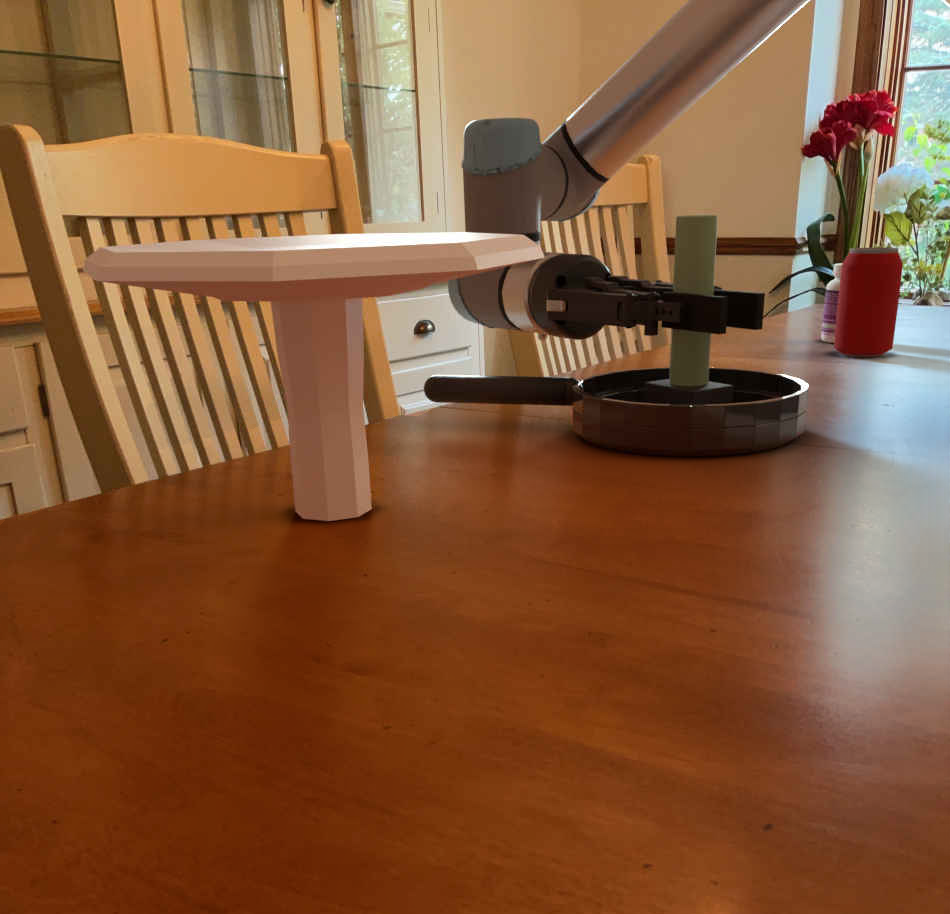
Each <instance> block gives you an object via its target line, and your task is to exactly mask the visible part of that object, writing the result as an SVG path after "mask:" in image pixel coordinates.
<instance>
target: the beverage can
mask: <svg viewBox="0 0 950 914" xmlns="http://www.w3.org/2000/svg"><path fill="white" fill-rule="evenodd" d="M841 263H842V269H841V278H840V287H839V297H838V307H837V317H836V328H835V339H834V343H833V348H834V350H836V351H837V352H838V353H840V355H841V356H845V357H852V358H877V357H882V356H884V355H885V354H886V353H888V352H890V351H891V350H892V349H893V346H894V340H895V334H896V333H895V331H896V323H897V318H898V309H899V302H900V301H899V300H900V293H901V292H900V291H901V285H902V275H903V266H904V263H903V260H902V257H901V255H900V253H899V248H898V247H882V246H881V247H876V246H875V247H853V248H849V252H848V254H847V255H846V257H845V258H844V260H843V262H841Z"/></svg>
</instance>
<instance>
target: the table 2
mask: <svg viewBox="0 0 950 914" xmlns="http://www.w3.org/2000/svg"><path fill="white" fill-rule="evenodd" d="M543 252H544V251H543V249H542V247H541V245H540V246H539V245H538V244H536V243H535V242H533V241H532V240H531V239H529V238H528V237H526V236H525V235H517V234H495V233H472V232H465V231H455V232H454V231H449V232H447V231H446V232H445V231H444V232H440V231H439V232H438V231H437V232H390V233H389V232H386V233H385V232H383V233H336V234H335V233H333V234H332V233H331V234H329V233H328V234H309V235H308V234H307V235H305V234H304V235H283V236H259V237H235V238H234V237H232V238H211V239H210V238H209V239H207V238H205V239H192V240H190V239H189V240H188V239H187V240H178V241H177V240H176V241H175V240H174V241H162V242H149V243H137V244H136V243H135V244H123V245H121V244H120V245H109V246H100V247H98V248H97V249H96V250H95V251H94V252H92V253H91V254H89V256H87V257H86V258H85V260H84V263H83V268H82V272H83V273H85V275H87V276H88V277H89V278H91V279H92V280H94V281H95V282H99V283H100V282H101V283H109V284H113V285H121V286H127V287H128V286H129V287H137V288H144V289H150V290H158V291H166V292H172V293H180V294H185V295H186V294H187V295H195V296H201V297H209V298H214V299H216V300H219V301H222V302H263V303H265V302H266V303H267V302H270V308H271V309H270V310H271V314H272V315H271V316H272V324H273V331H274V339H275V345H276V353H277V354H276V355H277V359H278V364H279V369H280V376H281V380H282V387H283V392H284V398H285V403H286V411H287V425H288V426H287V427H288V442H289V456H290V458H289V459H290V468H291V469H290V470H291V480H292V488H293V490H292V491H293V498H294V499H293V500H294V510H295V513H297V515H298V516H299V517H300V518H301V519H303V520H312V521H313V520H314V521H322V522H332V521H339V520H347V519H354V518H359V517H361V516H362V515H364V514H366V513H368V512H369V511H371V510H373V507H372V493H371V479H370V478H371V476H370V463H369V462H370V460H369V451H368V441H367V440H368V439H367V432H366V422H365V421H366V420H365V411H364V375H365V373H364V371H365V369H364V368H365V367H364V365H365V343H364V342H365V340H364V308H363V305H364V304H363V299H367V298H368V299H369V298H382V297H383V298H384V297H390V296H395V295H399V294H405V293H409V292H415V291H419V290H423V289H425V288H428V287H430V286H432V285H435V284H440V283H444V282H448V281H449V280H453V279H457V278H461V277H465V276H470V275H474V274H478V273H482V272H486V271H491V270H495V269H499V268H503V267H508V266H512V265H516V264H520V263H525V262H529V261H533V260H537V259H541V258H545V257H544V254H543Z"/></svg>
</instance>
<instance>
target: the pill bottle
mask: <svg viewBox="0 0 950 914" xmlns="http://www.w3.org/2000/svg"><path fill="white" fill-rule="evenodd" d="M842 263H843V262H841V263H835V264H833V271H832V275H833V276H834V279H832V280H830V281H829V282H828V283H827V284H826V287H825V294H824V304H823V314H822V322H821V335H820V339H821V341H823V342H825V343H830V344H831V343H832V344H834V339H835V328H836V317H837V307H838V297H839V287H840V278H841V269H842Z"/></svg>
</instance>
